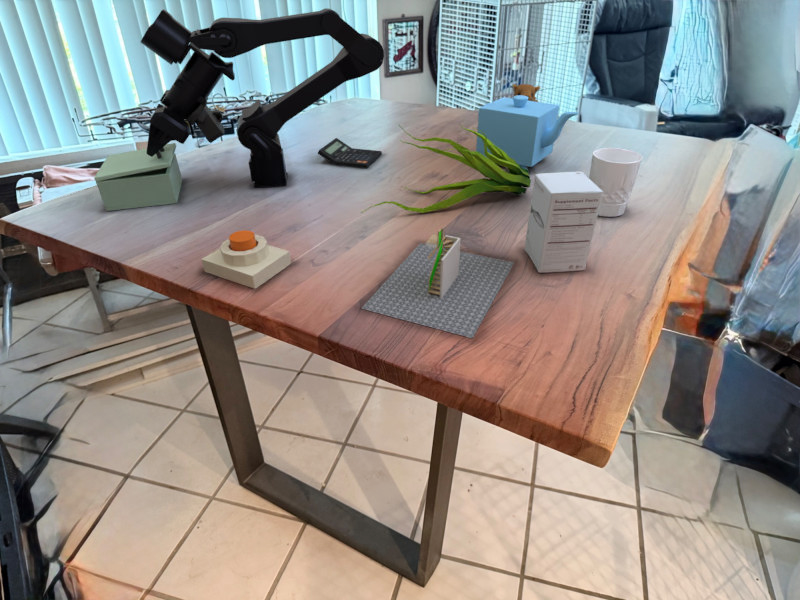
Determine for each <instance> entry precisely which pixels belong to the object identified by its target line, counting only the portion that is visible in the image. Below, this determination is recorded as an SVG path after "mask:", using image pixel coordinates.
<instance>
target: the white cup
mask: <svg viewBox="0 0 800 600" xmlns="http://www.w3.org/2000/svg"><path fill="white" fill-rule="evenodd" d="M642 161H643V155H641V154H640V153H638V152H637V151H634V150H631V149H626V148H620V147H603V148H597V149H595V150H594V151H593V152H592V157H591V164H590V170H589V176H588V178H589V179H590V180H591V181H593V183H594V184H596V185H597V186H598V187H599V188H600V189H601V190H602V191H603V193H602V198H601V202H600V207H599V211H598V215H597V216H599V217H606V218H614V217H619V216H622V215H624V213H625V212H626V210H627V206H628V203H629V200H630V198H631V194H632V193H633V192H632V191H633V189H634V186H635V183H636V180H637V177H638V174H639V170H640V166H641V164H642Z"/></svg>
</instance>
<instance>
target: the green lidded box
mask: <svg viewBox="0 0 800 600" xmlns="http://www.w3.org/2000/svg"><path fill="white" fill-rule="evenodd" d="M182 182H183V177H182V173H181V170H180V166H179V162H178V158H177V154H176V153H174V156H173V159H172V162H171V166H170V167H166V168H161V169H156V170H151V171H146V172H141V173H136V174H131V175H126V176H121V177H116V178H111V179H106V180H101V181H95V184H96V187H97V189H98V192H99V195H100V197H101V201H102V204H103V205H104V208H105V211H106V212H110V211H119V210H120V211H121V210H129V209H138V208H146V207H155V206H165V205H166V206H167V205H173V204H174V205H175V204H178V200H179V197H180V196H179V195H180V192H181V188H182Z"/></svg>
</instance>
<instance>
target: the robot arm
mask: <svg viewBox="0 0 800 600" xmlns="http://www.w3.org/2000/svg"><path fill="white" fill-rule="evenodd" d="M322 36H330V37H331V38H332V39H333V40H335V41H336V42H337V43H338V44H339V45H340V46H342V48H341V49H340V50H339V52H338V53H337V54H336V56H335V57H334V59H332V61H330V62H329V63H328V64H326V65H324V66H323V67H321V68H320V69H319V70H317V71H316V72H314V73H313V74H312V75H310V76H309V77H307V78H306V79H305V80H303V81H302V82H300V83H299V84H297V85H296V86H294V87H293V88H292V89H290V90H288V91H287V92H286V93H285V94H283V95H282V96H280V97H279V98H277V99H276V100H274V101H273V102H270V103H267V104H263V103H262V102H261V100H260V99H256V100H255V101H254V102H253V103H252V104H251V105H250V106H249V107H247V108H244V109H243V108H242V109H241V115H240V116H239V117H238V120H237V125H236V134H237V139H238V141H239V143H240V144H241V146H243V148H246V149H248V150H250V154H249V157H250V158H249V160H248V168H249V173H250V178H251V182H252V183H253V188H267V187H268V188H270V187H286V186H287V185H288V177H289V173H288V172H287V168H286V161H285V154H284V153H285V152H284V148H283V147H282V143H281V140H280V135H279V131H280V130H281V129H282V128H283V126H284V125H285V124H286V123H287V122H289V121H290V120H292V119H293V118H294V117H296V116H297V115H299V114H301V112H303V111H305V110H306V109H308V108H309V107H310V106H312V105H313V104H315V103H316V102H318V101H319V100H321V98H323V97H325V96H326V95H328V94H329V93H331V92H332V91H334V90H335V89H337V88H339V86H341V85H343V84H344V83H345V82H349V81H352V80H356V79H358V78H363V77H364V76H367V75H369V74H371V73H373V72H376V71H377V70H379V69H380V68H381V66H383V63H384V59H385V51H384V50H385V49H384V47H383V45H382V44H381V43H380V41H379V40H377V39H375V38H374V37H373V36H371V35H370V34H366V33H359V32H358V30H356V29H355V28H354V27H352V26H351V25H350V24H349V23H347V21H345V20H344V19H343V18H342V17H341V16H340V14H339V13H338V12H337V11H336V10H333V9H331V8H328V7H327V8H323V9H321V10H317V11H310V12H304V13H296V14H290V15H285V16H283V15H282V16H277V17H269V18H263V19H251V18H242V17H241V18H240V17H219V18H216V19H215V20H213V22H212V23H211V24H210V26H209V27H205V28H201V29H198V28H196V30H193V31H191V30H189V29H188V28H187V27H185V26H184V25H183V24H182V23H180V22H179V21H178V20H177V19H176V18H175V17H174V16H173V15H172V14H171V12H169V11H168V10H165V9H161V11H160V12H159V13H158V15H157V17H156V18H155V20H154V21H153V22H152V23H151V24H150V25H149V26H148V28H147V29H146V31H145V33H144V34H143V36H142V38H141V40H140V44H142V45H143V46H144V47H146V48H147V49H149V50H150V51H152V52H153V53H154V54H156V55H157V56H158V57H160V58H161V59H163V60H164V61H165V62H166V63H168V64H169V65H170V66H172V65H173V64H176V65H177V64H179V65H182V64H183V62H184V60H185V59H186V57H187V55H188V54H189V53H190V51H192V52H193V53H192V54H191V56H190V57H189V59H188V61H187V62H186V63H185V65H184V66H183V68H182V70H181V71H180V73H179V74H178V75H177V77H176V78H175V81H174V82H173V84H172V85H171V87H170V88H169V89H166V90H165V91H164V93H163V94H162V96H161V98H160V100H159V102H160V103H161V104H160V103H157V105H156V108H155V110H154V112H153V113H152V115H151V117H150V119H149V120H148V122H149V128H148V129H149V130H148V139H147V146H146V148H147V152H146V153H147V155H149V156H151V157H153V156H154V155H155V154H156V153H157V152H158V151H159V150H161V149H162V148H163V147H164V146H165V145H167V144H170V142H172V141H176V142H178V143H179V144H182V145H184V144H185V143H186V141H187V140H188V138H190V137H189V136H190V134H191V127H190V125H192V126H194V124H195V125H196V126H197V127H198V129H199V130H200V131H201V132H202V134H203V135H204V136H205V139H206V140H207V142H208V143H209V144H212V143H213V142H215V141H216V140H218V139H219V138H221V137H223V136H224V135H225V127H224V124H223V123H222V121H223V119H224V115H223V113H222V112H221V111H220V110H219V109H212V108H210V107H209V106H208V105H207V104H208V100H209V96H210V95H211V93H212V92H213V90H214V89H215V87H216V86H217V84H218V83H219V81H220V80H221V78H222V77H223V75H224V76H226V77H227V78H228V79H230V81H235V79H236V76H235V75H236V74H235V71H234V62H233V61H227V62H226V61H225V60H223V59H232V58H235V57H238V56H241V55H243V54H246V53H249V52H251V51H253V50H255V49H258V48H259V47H263V46H265V45H270V44H276V43H283V42H289V41H295V40H302V39H308V38H314V37H322ZM203 50H204V51H203ZM205 50H206V51H211V52H210V53H206V52H205ZM222 58H223V59H222ZM262 104H263V105H262Z"/></svg>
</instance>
